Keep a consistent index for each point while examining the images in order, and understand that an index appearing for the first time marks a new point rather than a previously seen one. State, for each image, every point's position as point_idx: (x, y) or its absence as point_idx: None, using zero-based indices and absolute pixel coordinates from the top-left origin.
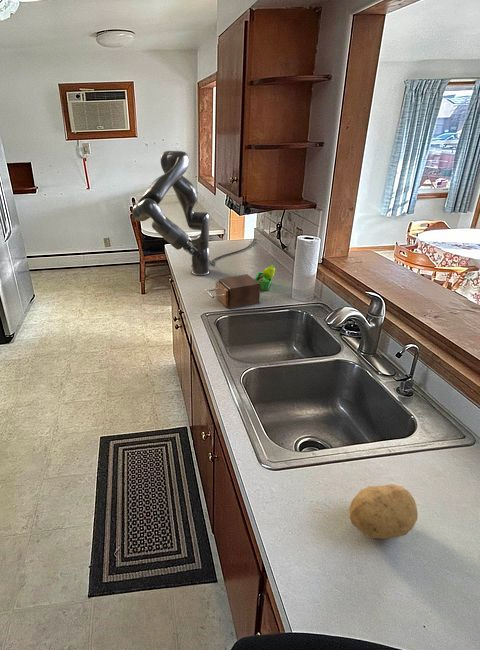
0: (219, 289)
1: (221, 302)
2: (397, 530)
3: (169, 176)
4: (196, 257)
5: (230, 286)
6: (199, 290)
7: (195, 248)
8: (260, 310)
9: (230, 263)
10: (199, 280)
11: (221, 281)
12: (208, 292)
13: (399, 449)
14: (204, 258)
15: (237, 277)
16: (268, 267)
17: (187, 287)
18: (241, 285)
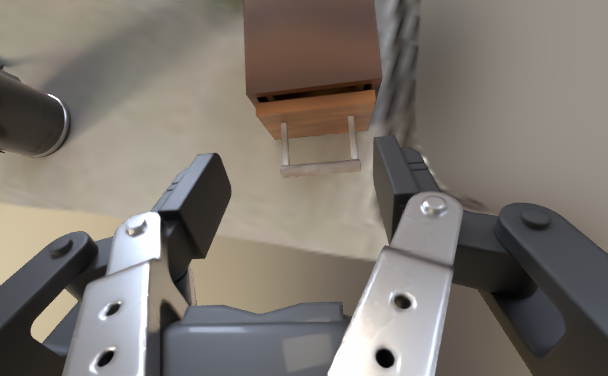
0: (304, 118)
1: (329, 133)
2: None
3: None
4: (562, 321)
5: (356, 68)
6: None
7: (439, 323)
8: (416, 26)
9: (15, 4)
10: (104, 150)
11: (281, 90)
12: (312, 171)
13: None
14: (403, 158)
15: (263, 9)
16: None
17: (144, 210)
18: (361, 18)
